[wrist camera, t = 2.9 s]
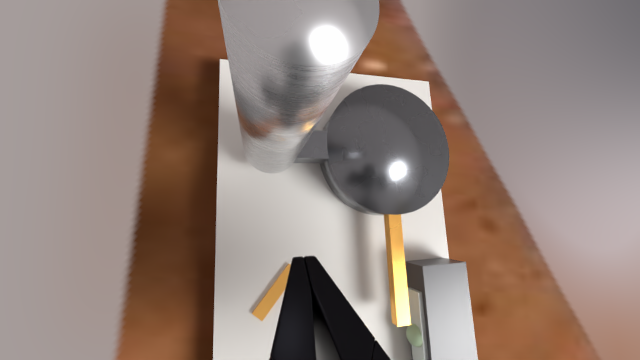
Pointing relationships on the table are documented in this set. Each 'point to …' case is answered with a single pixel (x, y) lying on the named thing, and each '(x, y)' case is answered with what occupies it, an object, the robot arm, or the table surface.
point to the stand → (326, 250)
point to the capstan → (346, 121)
